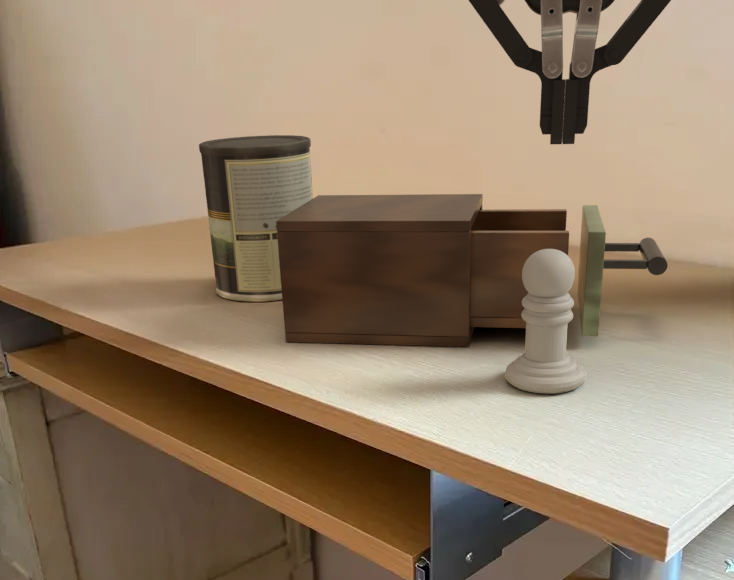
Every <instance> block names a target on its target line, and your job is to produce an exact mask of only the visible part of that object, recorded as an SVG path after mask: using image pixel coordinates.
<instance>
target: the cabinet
mask: <svg viewBox="0 0 734 580" xmlns="http://www.w3.org/2000/svg"><path fill="white" fill-rule="evenodd" d="M483 195H484V194H483V193H445V194H444V193H442V194H440V193H437V194H435V193H434V194H433V193H432V194H431V193H429V194H428V193H427V194H425V193H424V194H326V195H325V194H324V195H322V194H319V195H317V196H315V197H313V199H311V200H310V201H308V202H307V203H305V204H303V205H302V206H300V207H298V208H297V209H295V210H294V211H292V212H290V213H289V214H287V215H285V216H284V217H282V218H281V219H279V220H277V221H276V227H277V239H278V251H279V264H280V277H281V289H282V300H281V301H282V313H283V324H284V326H283V327H284V338H285V342H286V343H315V344H321V343H322V344H345V345H346V344H348V345H349V344H350V345H351V344H353V345H383V346H384V345H387V346H419V347H420V346H421V347H452V348H453V347H457V348H470V347H469V346H470V343H471V341H472V336H473V332H474V329H475V327H470V260H471V228H472V225H473V223H474V221H475V219H476V216H477V214H478V212H479V210H483V202H484V201H483V199H484V198H483V197H484V196H483Z"/></svg>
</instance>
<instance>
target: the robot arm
mask: <svg viewBox="0 0 734 580" xmlns="http://www.w3.org/2000/svg"><path fill="white" fill-rule="evenodd" d="M671 1H672V0H640V1H639V3H637V5H636V6H635V8H633V10H632V11H631V13H630V14H629V15H628V16H627V18H626V19H625V20H624V22H623V23H622V24H621V25H620V26H619V28H618V29H617V30H616V31H615V33H614V34H613V35H612V36H611V38H610V39H609V40H608V42H607V43H606V44H604V45H602V46H599V47H596V45H597V39H598V34H599V33H598V32H599V26H600V21H601V20H600V19H601V12H604V11H605V10H606V9H609V8H610V6H611V5H612V4H613V3H614V2H616V0H524V2H525V3H526V5H527V7H528V8H529V9H530V10H531V12H533V13H534V14H536V15H537V16H538V15H539V16H540V31H541V32H540V33H541V34H540V35H541V51H540V50H538V49H535V48H532V47H530V46H529V45H528V44H527V42H526V41H525V39H524V37H522V35H521V33H520V32H519V31H518V29H517V28H516V27H515V25H514V24H513V22H512V21H511V19H510V18H509V17H508V16H507V14H506V12H505V10H504V9H503V8H502V7H501V6H502V5H503V4H504V3H505V2H506V0H468V2H469V3H470V4H471V6H472V8H473V9H474V10H475V12H476V13H477V14H478V16H479V17H480V19H481V20H482V21H483V23H484V25H486V27H487V28H488V30H489V31H490V32H491V34H492V35H493V37H494V38H495V39H496V41H497V42H498V43H499V45H500V46H501V48H502V49H503V50H504V52H505V53H506V55H507V56H508V58H509V59H510V60H511V62H512V63H513V65H514V66H515V67H516V68H520V69H522V70H526V71H529V72H531V73H534V74H535V75H537V76H538V78H539V79H540V83H541V87H540V106H539V112H540V113H539V129H540V131H541V134H542V135H550V136H549V137H550V139H549V145H575V142H576V141H575V140H576V135H584V133H585V131H586V128H587V127H588V118H589V105H590V104H589V103H590V89H591V81H592V78H593V76H594V75H595V74H597V72H599V71H601V70H604V69H606V68H610V67H612V66H617V65H619V64H620V63H622V62H623V60H624V59H626V57H627V56H628V54H629V53H630V52H631V50H633V48H634V47H635V45H637V43H638V42H639V40H640V39H641V38H642V37H643V36H644V35H645V34H646V32H647V31H648V30H649V28H650V27H651V26H652V25H653V23H654V22H655V21H656V20H657V19H658V17H659V16H660V15H661V13H662V12H663V11H664V10H665V9H666V7H667V6H668V5H669V4H670V2H671ZM567 13H572V14H576V17H575V25H574V32H573V43H572V51H571V58H570V63H569V71H568V78H563V73H564V41H563V40H564V39H563V37H564V31H563V30H564V26H563V25H564V21H563V20H564V19H563V15H564V14H567Z"/></svg>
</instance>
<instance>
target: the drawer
mask: <svg viewBox="0 0 734 580" xmlns="http://www.w3.org/2000/svg"><path fill="white" fill-rule="evenodd" d="M567 215H568V210H567V208H548V209H546V208H542V209H541V208H540V209H539V208H538V209H533V208H529V209H524V208H523V209H521V208H520V209H516V208H515V209H510V208H509V209H505V208H504V209H482V210H479V212H478V214H477V216H476V219H475V221H474V223H473V225H472V228H471V260H470V327H474V328H495V329H496V328H498V329H499V328H500V329H526V322H525V321H524V320H523V319H522V316H521V314H522V311H523V310H524V307H523V305H522V299H523V298H524V297H525V296H526V295H527V294H528V293H529V292H528V291H527V290H526V288H525V286H524V284H523V280H522V270H523V266H524V264H525V262H526V260H527V259H528V258H529V257H530V256H531V255H532V254H533V253H535V252H537V251H539V250H543V249H556V250H559V251H562V252H564V253H565V254H566V255H568V256H569V247H570V246H569V245H570V231H569V230H567ZM580 225H581V226H580V242H579V243H580V244H579V258H578V275H577V293H576V297H577V305H578V315H579V323H580V331H581V336H582V337H599V334H600V332H599V331H600V320H601V307H602V291H603V280H604V279H603V278H604V270H648V272H649V273H650V274H651V275H654V276H660V275H662V274H664V273H665V272H666V271H667V269H668V265H669V264H668V261H667V259H666V257H665V256H664V254H663V252H662V251H661V249H660V246H659V245H658V243H657V241H656V240H655V239H654V238H652V237H644V238H643V239H641V240H640V241H639V242H606V239H607V237H606V236H607V232H606V229H605V225H604V222H603V219H602V216H601V213H600V210H599V206H598V205H597V204H592V205H591V204H589V205H588V204H587V205H585V204H583V205H582V211H581V224H580ZM606 252H621V253H622V252H625V253H627V252H629V253H630V252H635V253H636V252H637V253H638V252H639V253H640V255H641V257H642V259H619V258H618V259H613V258H612V259H608V258H607V259H606V258H605V253H606Z"/></svg>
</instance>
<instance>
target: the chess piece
mask: <svg viewBox="0 0 734 580" xmlns="http://www.w3.org/2000/svg"><path fill="white" fill-rule="evenodd" d="M575 268H576V267H575V265H574V263H573V260H572V259H571V257H570V256H569V254H568V255H566V254H565V253H564V252H562V251H559V250H556V249H543V250H539V251H537V252H535V253H533V254H532V255H531V256H530V257H529V258H528V259H527V260H526V262H525V264H524V266H523V270H522V280H523V284H524V286H525V288H526V290H527V291H528V292H529V293H528V294H527V295H526V296H525V297H524V298H523V299H522V305H523V307H524V310H523V311H522V314H521V316H522V319H523V320H524V321H525V322H526V328H525V339H524V342H525V343H524V352H523V353H522V354H521V355H519V356H517V357H516V358H515V359H514V360H512V361H511V362H510V363H508V365H507V366H506V368H505V371H504V376H505V379H506V380H507V382H508V383H509V384H510V385H511V386H513V387H515V388H516V389H519V390H522V391H525V392H529V393H535V394H560V393H567V392H570V391H573V390H575V389H577V388H579V387H580V386H582V384H584V383H585V381H586V380H585V379H586V377H587V376H586V375H587V374H586V370H585V368H584V367H583V366H582V365H581V364H580V363H578V362H576V361H575V360H574V358H572V357H571V356H569V355H568V354H567V344H568V343H567V342H568V341H567V339H568V324H569V323H570V322H571V321H573V318H574V313H573V311H572V309H573V308H574V306H575V301H574V298H572V296H571V294H570V293H569V291H570V290H571V288H572V287H573V285H574V283H575V278H576V269H575Z"/></svg>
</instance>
